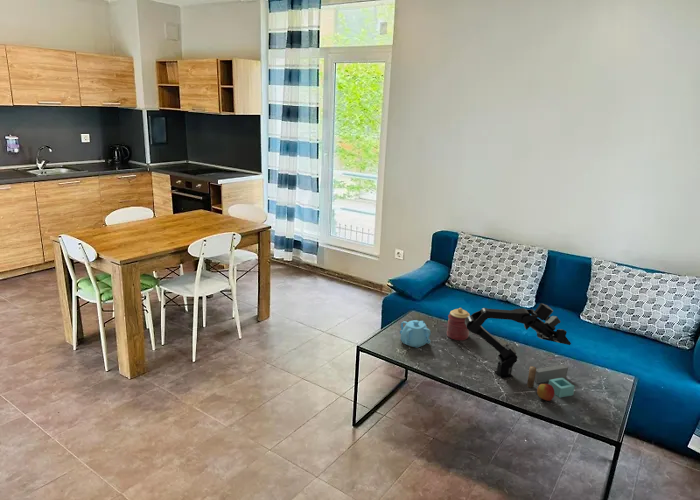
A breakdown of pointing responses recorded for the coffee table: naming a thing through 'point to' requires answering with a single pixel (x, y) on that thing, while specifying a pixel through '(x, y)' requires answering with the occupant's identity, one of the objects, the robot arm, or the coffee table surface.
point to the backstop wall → (550, 373)
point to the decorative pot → (415, 333)
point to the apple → (545, 392)
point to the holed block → (562, 387)
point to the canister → (457, 324)
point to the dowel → (531, 377)
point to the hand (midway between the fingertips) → (564, 342)
